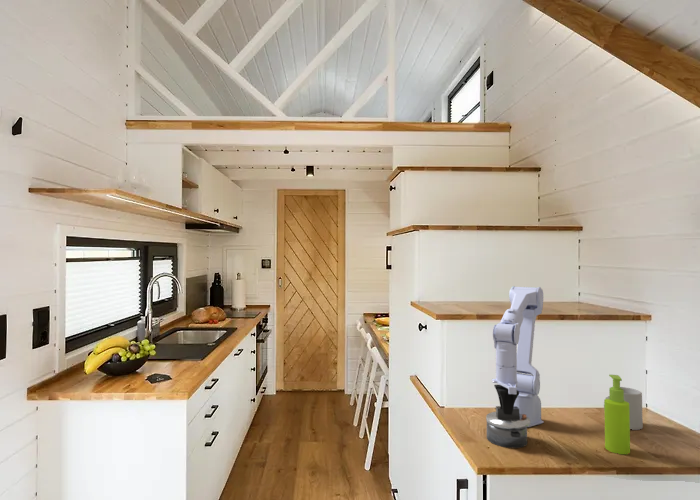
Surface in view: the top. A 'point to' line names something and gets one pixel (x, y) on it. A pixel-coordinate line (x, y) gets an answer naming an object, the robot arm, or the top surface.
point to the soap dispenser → (617, 419)
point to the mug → (634, 407)
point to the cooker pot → (507, 437)
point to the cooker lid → (508, 419)
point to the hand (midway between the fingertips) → (506, 412)
